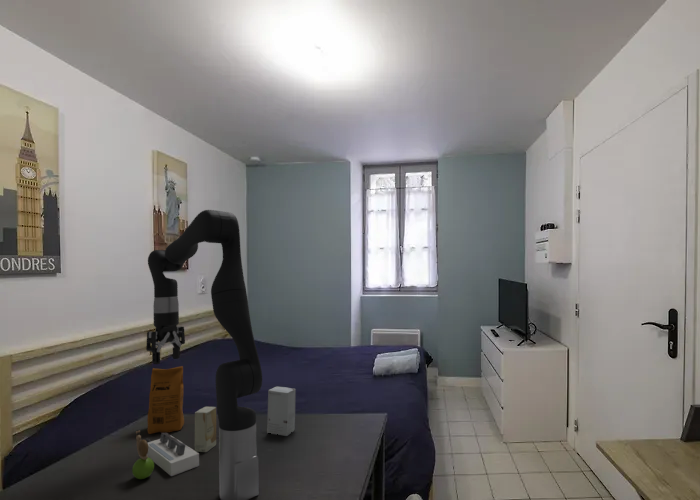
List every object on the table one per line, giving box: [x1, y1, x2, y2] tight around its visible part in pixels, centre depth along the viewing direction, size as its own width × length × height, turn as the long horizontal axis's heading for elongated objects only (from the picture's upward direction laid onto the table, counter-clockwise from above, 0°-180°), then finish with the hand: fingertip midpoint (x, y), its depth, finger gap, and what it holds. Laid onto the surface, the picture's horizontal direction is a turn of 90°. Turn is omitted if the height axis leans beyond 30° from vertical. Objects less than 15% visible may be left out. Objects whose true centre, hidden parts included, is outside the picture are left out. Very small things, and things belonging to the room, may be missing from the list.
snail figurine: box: [131, 429, 155, 480], centre depth 112 cm, size 5×6×12 cm
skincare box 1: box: [194, 406, 217, 453], centre depth 130 cm, size 6×4×12 cm
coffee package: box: [147, 365, 185, 435], centre depth 148 cm, size 10×12×22 cm
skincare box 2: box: [266, 386, 297, 437], centre depth 142 cm, size 8×6×15 cm
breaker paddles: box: [159, 432, 186, 454], centre depth 122 cm, size 14×2×2 cm, turn 46°
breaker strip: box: [144, 435, 200, 477], centre depth 126 cm, size 31×8×4 cm, turn 46°
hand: (166, 361), depth 131 cm, fingers open, 8 cm apart
